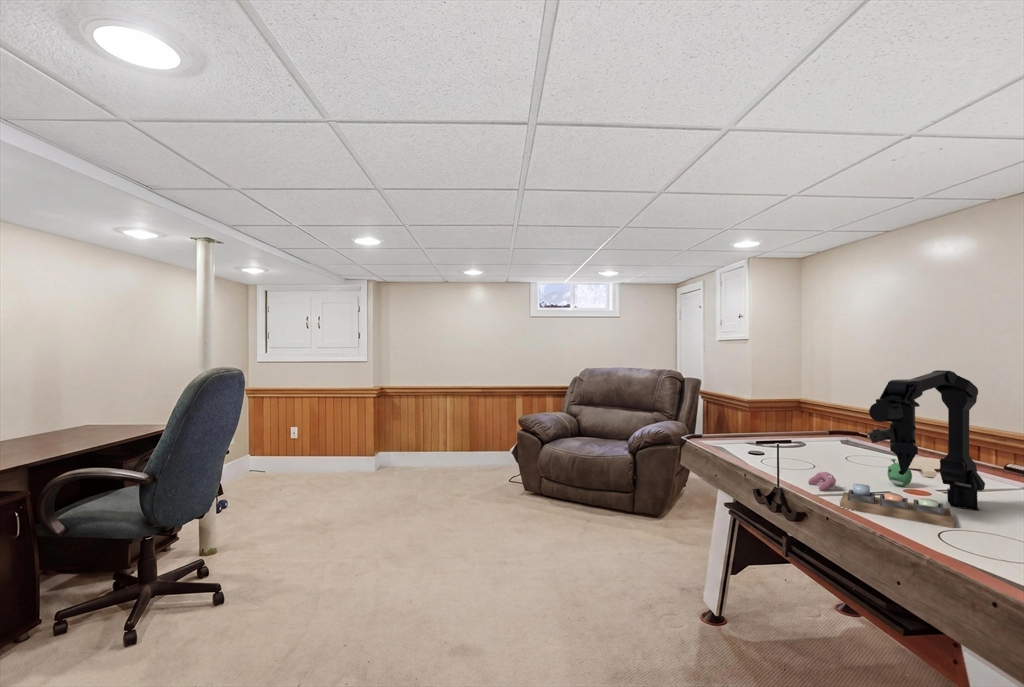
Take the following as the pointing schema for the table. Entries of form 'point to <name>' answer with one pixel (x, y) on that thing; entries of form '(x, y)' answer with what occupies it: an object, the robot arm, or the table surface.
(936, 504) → the sage button
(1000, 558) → the table surface
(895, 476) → the alien toy
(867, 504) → the button panel
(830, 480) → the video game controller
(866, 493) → the slate button
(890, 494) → the terracotta button
